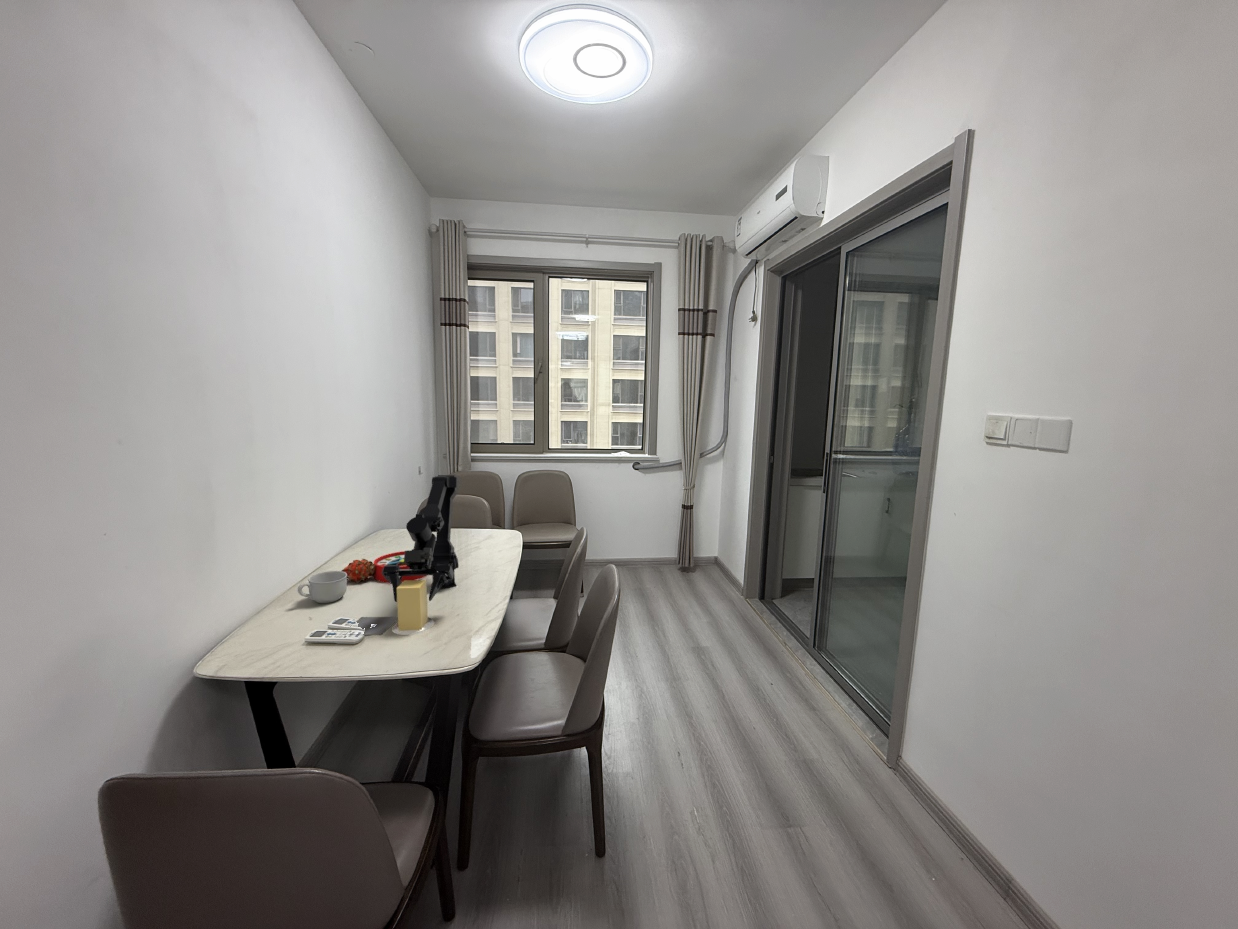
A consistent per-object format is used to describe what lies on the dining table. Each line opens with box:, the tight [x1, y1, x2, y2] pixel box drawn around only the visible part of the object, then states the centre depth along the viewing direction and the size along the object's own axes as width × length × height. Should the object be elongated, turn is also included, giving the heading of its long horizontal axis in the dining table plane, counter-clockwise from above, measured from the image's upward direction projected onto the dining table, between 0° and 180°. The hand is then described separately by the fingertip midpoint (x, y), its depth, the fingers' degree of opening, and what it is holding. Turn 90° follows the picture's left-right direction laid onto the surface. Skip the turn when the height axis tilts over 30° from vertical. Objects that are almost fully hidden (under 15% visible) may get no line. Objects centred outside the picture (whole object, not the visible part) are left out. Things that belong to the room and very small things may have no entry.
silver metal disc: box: [391, 617, 435, 636], centre depth 134 cm, size 11×11×4 cm
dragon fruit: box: [341, 558, 375, 584], centre depth 171 cm, size 8×8×12 cm
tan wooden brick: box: [396, 579, 429, 631], centre depth 134 cm, size 6×6×12 cm
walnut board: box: [349, 616, 398, 636], centre depth 134 cm, size 24×16×1 cm, turn 91°
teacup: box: [297, 570, 348, 604], centre depth 153 cm, size 14×11×8 cm
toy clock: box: [373, 550, 429, 584], centre depth 179 cm, size 20×6×20 cm
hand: (412, 600), depth 134 cm, fingers open, 9 cm apart
